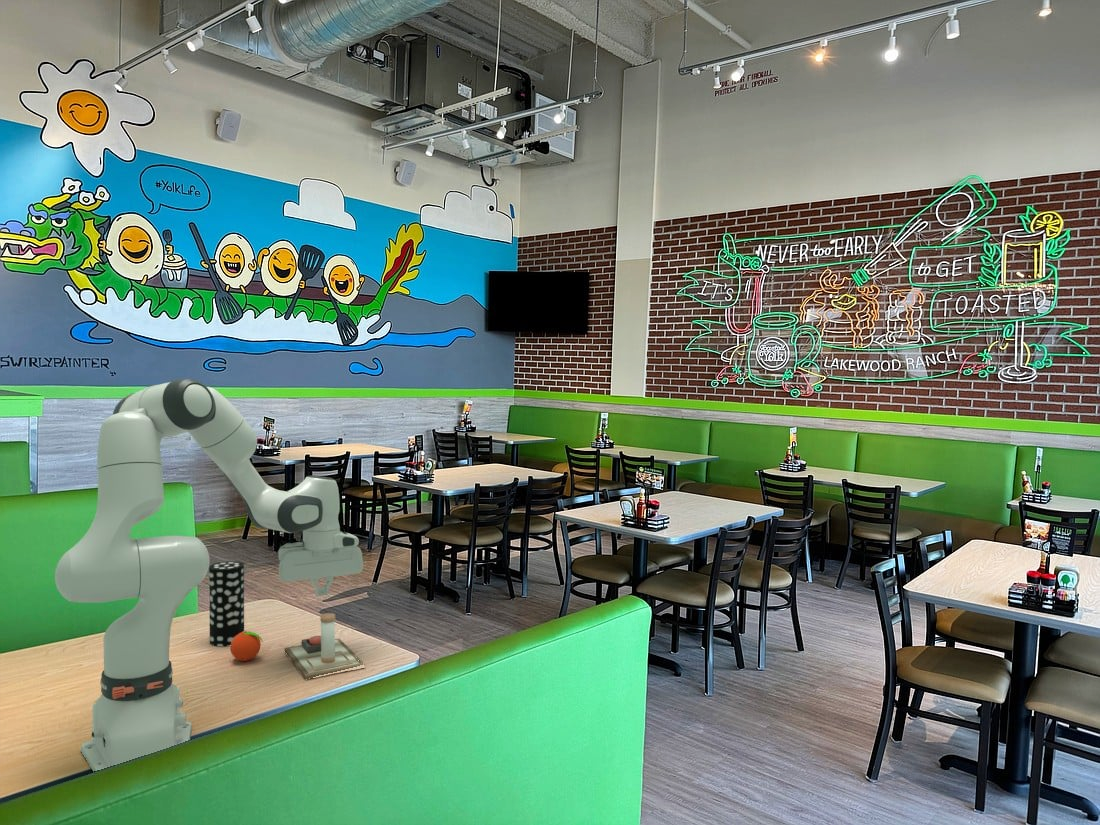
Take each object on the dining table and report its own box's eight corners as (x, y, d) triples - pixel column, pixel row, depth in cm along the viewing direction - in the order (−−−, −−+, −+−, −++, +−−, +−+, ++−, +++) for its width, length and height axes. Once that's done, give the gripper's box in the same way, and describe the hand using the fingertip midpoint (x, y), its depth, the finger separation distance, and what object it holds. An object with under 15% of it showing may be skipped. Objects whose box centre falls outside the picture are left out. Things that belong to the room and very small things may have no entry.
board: (364, 668, 184) (364, 657, 184) (305, 680, 176) (305, 668, 176) (339, 642, 201) (339, 631, 200) (284, 651, 193) (284, 641, 193)
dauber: (337, 661, 185) (336, 616, 184) (323, 664, 183) (322, 618, 182) (333, 656, 188) (332, 612, 187) (319, 659, 186) (318, 614, 185)
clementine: (269, 655, 190) (269, 627, 190) (256, 666, 184) (256, 637, 183) (239, 653, 191) (239, 626, 191) (224, 664, 184) (224, 635, 184)
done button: (326, 646, 193) (326, 639, 193) (311, 648, 191) (311, 641, 191) (321, 641, 196) (321, 634, 196) (307, 644, 194) (307, 637, 194)
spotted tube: (236, 647, 196) (235, 570, 194) (203, 646, 196) (203, 569, 194) (249, 635, 204) (249, 561, 203) (218, 634, 204) (217, 561, 203)
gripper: (280, 546, 183) (281, 603, 183) (364, 538, 193) (365, 592, 194) (275, 542, 188) (276, 597, 189) (357, 534, 199) (358, 586, 199)
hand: (321, 594), depth 191 cm, fingers closed
